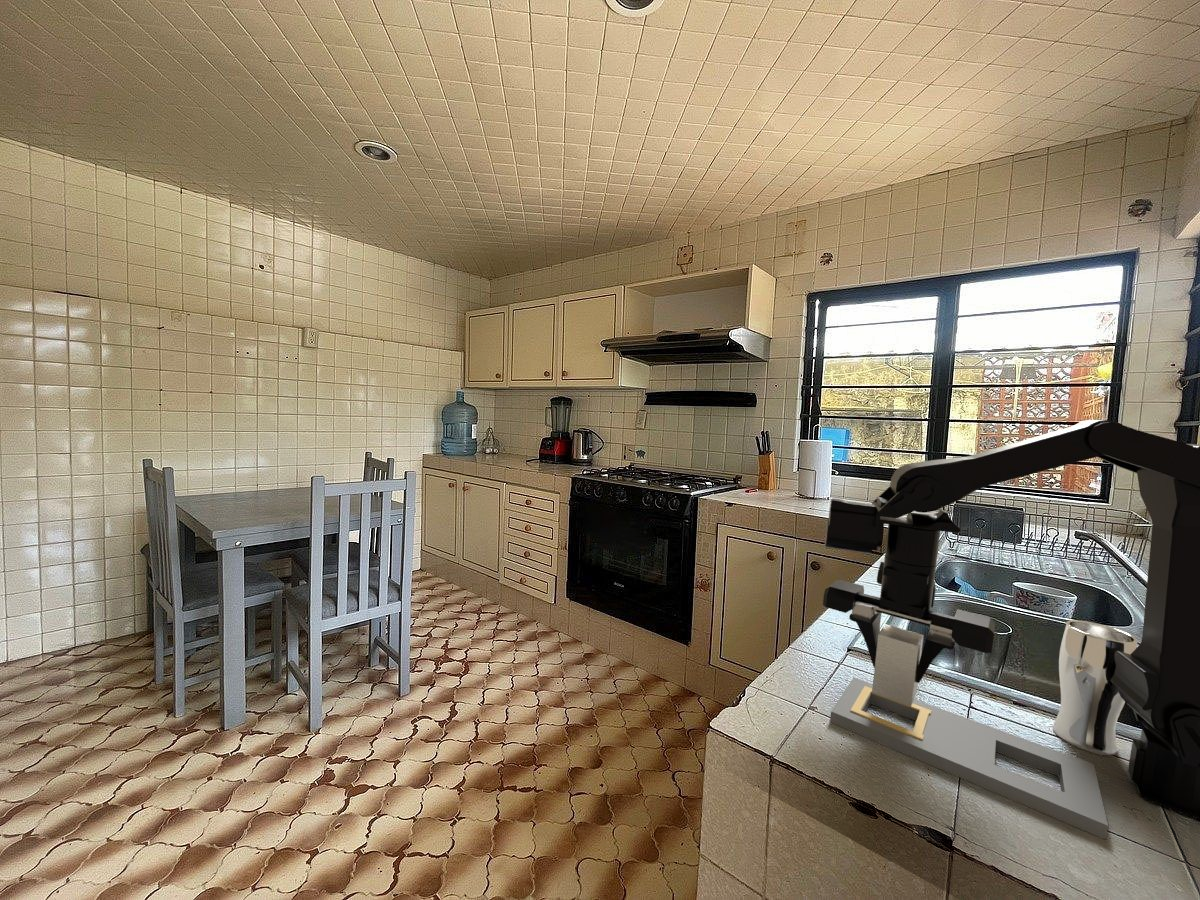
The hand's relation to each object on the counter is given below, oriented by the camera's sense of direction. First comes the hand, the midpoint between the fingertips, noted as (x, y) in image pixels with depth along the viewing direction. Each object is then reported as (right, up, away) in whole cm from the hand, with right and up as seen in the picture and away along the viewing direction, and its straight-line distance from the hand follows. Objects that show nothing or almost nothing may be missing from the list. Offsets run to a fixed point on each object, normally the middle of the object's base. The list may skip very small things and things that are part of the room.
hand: (896, 674), depth 66 cm
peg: (0, -3, 0) cm, 3 cm away
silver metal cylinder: (+24, -9, 0) cm, 26 cm away
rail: (+5, -8, -4) cm, 10 cm away
